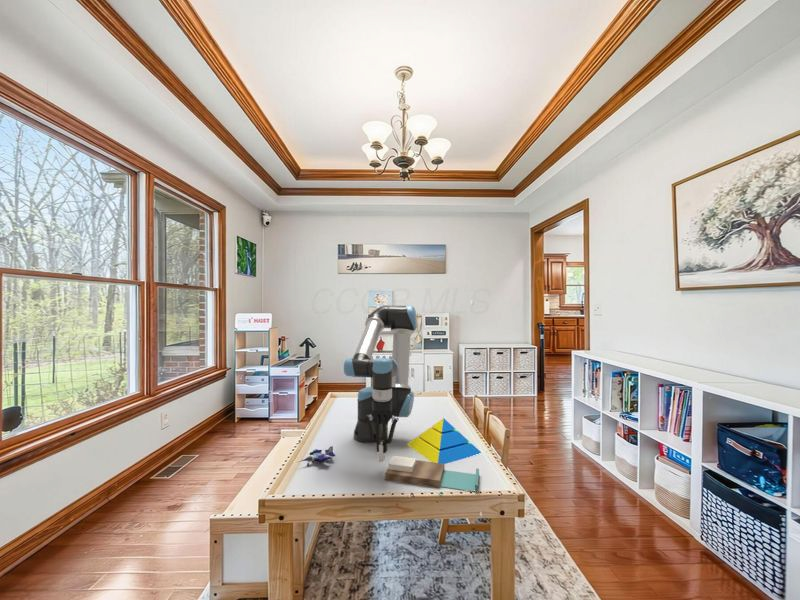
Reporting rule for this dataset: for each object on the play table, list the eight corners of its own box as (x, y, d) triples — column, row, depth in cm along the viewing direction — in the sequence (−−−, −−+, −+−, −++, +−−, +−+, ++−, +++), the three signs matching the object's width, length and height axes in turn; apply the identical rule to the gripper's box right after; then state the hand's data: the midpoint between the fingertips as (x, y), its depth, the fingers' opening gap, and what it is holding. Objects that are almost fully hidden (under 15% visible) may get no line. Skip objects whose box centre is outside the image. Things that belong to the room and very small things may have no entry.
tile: (388, 469, 128) (388, 463, 128) (393, 460, 135) (393, 455, 135) (412, 472, 126) (412, 467, 126) (416, 463, 133) (416, 458, 133)
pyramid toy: (437, 468, 135) (437, 432, 135) (404, 445, 157) (404, 414, 157) (484, 455, 148) (484, 421, 148) (448, 435, 169) (448, 406, 169)
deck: (384, 479, 125) (384, 473, 125) (394, 463, 138) (394, 457, 138) (439, 487, 120) (439, 480, 120) (444, 470, 133) (444, 463, 133)
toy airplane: (294, 469, 132) (294, 460, 132) (310, 454, 146) (310, 445, 146) (325, 473, 130) (326, 463, 130) (339, 457, 144) (339, 448, 144)
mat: (439, 487, 121) (439, 479, 121) (444, 470, 132) (444, 464, 132) (477, 492, 117) (477, 485, 117) (478, 475, 129) (479, 468, 129)
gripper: (362, 400, 131) (362, 462, 130) (395, 403, 127) (395, 467, 127) (369, 395, 138) (369, 454, 138) (401, 397, 134) (400, 458, 134)
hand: (381, 460), depth 132 cm, fingers closed
